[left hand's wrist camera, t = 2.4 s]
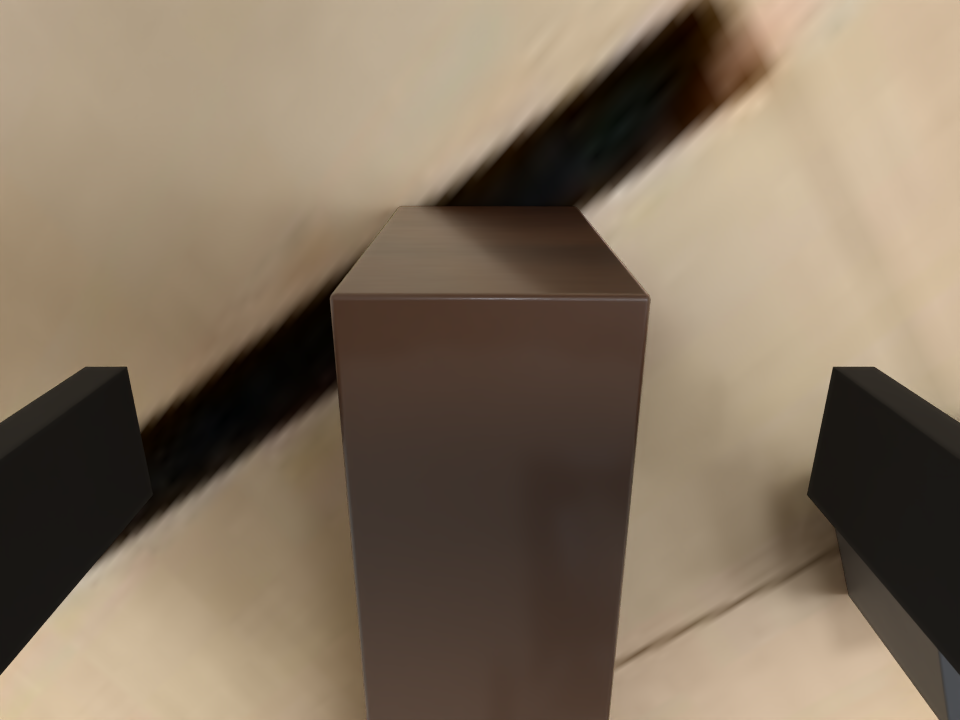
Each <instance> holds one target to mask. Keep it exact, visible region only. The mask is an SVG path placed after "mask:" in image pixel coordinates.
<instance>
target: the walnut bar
mask: <svg viewBox="0 0 960 720" xmlns="http://www.w3.org/2000/svg"><path fill="white" fill-rule="evenodd" d="M650 301H651V299H650V296H649V294H648V293H647V292H646V291H645V289H644V288H643V287H642V286H641V285H640V283H639V282H638V281H637V280H636V278H635V277H634V276H633V275H632V274H631V272H630V271H629V270H628V269H627V268H626V266H625V265H624V264H623V263H622V261H621V260H620V259H619V258H618V257H617V255H616V254H615V253H614V252H613V251H612V249H611V248H610V247H609V246H608V244H607V243H606V242H605V241H604V240H603V238H602V237H601V236H600V235H599V234H598V232H597V231H596V230H595V229H594V227H593V226H592V225H591V224H590V223H589V221H588V220H587V219H586V218H585V217H584V215H583V214H582V213H581V212H580V210H579V209H578V208H577V207H575V206H401V207H399V208H398V209H397V210H396V212H395V213H394V214H393V215H392V217H391V218H390V219H389V221H388V222H387V223H386V225H385V226H384V227H383V228H382V230H381V231H380V232H379V234H378V235H377V236H376V237H375V239H374V240H373V241H372V243H371V244H370V245H369V247H368V248H367V249H366V250H365V252H364V253H363V254H362V256H361V257H360V258H359V260H358V261H357V262H356V263H355V265H354V266H353V267H352V269H351V270H350V271H349V272H348V274H347V275H346V276H345V278H344V279H343V280H342V282H341V283H340V284H339V285H338V287H337V288H336V289H335V291H334V292H333V293H332V295H331V297H330V305H331V316H332V328H333V339H334V351H335V362H336V373H337V385H338V396H339V408H340V419H341V431H342V442H343V454H344V465H345V477H346V488H347V500H348V511H349V523H350V534H351V545H352V557H353V568H354V580H355V591H356V603H357V614H358V626H359V637H360V649H361V660H362V672H363V683H364V695H365V706H366V717H367V720H609V715H610V704H611V694H612V684H613V674H614V664H615V654H616V644H617V634H618V624H619V614H620V604H621V594H622V583H623V573H624V563H625V553H626V543H627V533H628V523H629V513H630V503H631V493H632V483H633V472H634V462H635V452H636V442H637V432H638V422H639V412H640V402H641V392H642V382H643V372H644V362H645V351H646V341H647V331H648V321H649V311H650Z"/></svg>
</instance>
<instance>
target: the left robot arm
mask: <svg viewBox="0 0 960 720" xmlns="http://www.w3.org/2000/svg"><path fill="white" fill-rule="evenodd" d="M152 495H153V493H152V488H151V483H150V478H149V473H148V468H147V463H146V458H145V453H144V449H143V444H142V439H141V434H140V429H139V424H138V419H137V414H136V409H135V404H134V399H133V394H132V390H131V385H130V380H129V375H128V370H127V367H85V368H83V369H82V370H80V371H79V372H77V373H76V374H74V375H73V376H71V377H69V378H68V379H66V380H65V381H63V382H62V383H60V384H59V385H57V386H56V387H54V388H53V389H51V390H50V391H48V392H47V393H45V394H44V395H42V396H40V397H39V398H37V399H36V400H34V401H33V402H31V403H30V404H28V405H27V406H25V407H24V408H22V409H21V410H19V411H18V412H16V413H15V414H13V415H12V416H10V417H8V418H7V419H5V420H4V421H2V422H1V423H0V675H1V674H2V673H3V671H4V670H5V669H6V668H7V667H8V665H9V664H10V663H11V662H12V661H13V660H14V658H15V657H16V656H17V655H18V654H19V652H20V651H21V650H22V649H23V648H24V647H25V645H26V644H27V643H28V642H29V641H30V639H31V638H32V637H33V636H34V635H35V634H36V632H37V631H38V630H39V629H40V628H41V626H42V625H43V624H44V623H45V622H46V621H47V619H48V618H49V617H50V616H51V615H52V613H53V612H54V611H55V610H56V609H57V608H58V606H59V605H60V604H61V603H62V602H63V600H64V599H65V598H66V597H67V596H68V595H69V593H70V592H71V591H72V590H73V589H74V587H75V586H76V585H77V584H78V583H79V582H80V580H81V579H82V578H83V577H84V576H85V574H86V573H87V572H88V571H89V570H90V569H91V567H92V566H93V565H94V564H95V563H96V561H97V560H98V559H99V558H100V557H101V556H102V554H103V553H104V552H105V551H106V550H107V548H108V547H109V546H110V545H111V544H112V543H113V541H114V540H115V539H116V538H117V537H118V535H119V534H120V533H121V532H122V531H123V530H124V528H125V527H126V526H127V525H128V524H129V522H130V521H131V520H132V519H133V518H134V517H135V515H136V514H137V513H138V512H139V511H140V509H141V508H142V507H143V506H144V505H145V504H146V502H147V501H148V500H149V499H150V498H151V496H152ZM807 495H808V496H809V498H810V499H811V500H812V501H813V502H814V504H815V505H816V506H817V507H818V508H819V509H820V511H821V512H822V513H823V514H824V515H825V517H826V518H827V519H828V520H829V521H830V522H831V524H832V525H833V526H834V527H835V528H836V530H837V531H838V532H839V533H840V534H841V535H842V537H843V538H844V539H845V540H846V541H847V543H848V544H849V545H850V546H851V547H852V548H853V550H854V551H855V552H856V553H857V554H858V556H859V557H860V558H861V559H862V560H863V561H864V563H865V564H866V565H867V566H868V567H869V569H870V570H871V571H872V572H873V573H874V574H875V576H876V577H877V578H878V579H879V580H880V582H881V583H882V584H883V585H884V586H885V587H886V589H887V590H888V591H889V592H890V593H891V595H892V596H893V597H894V598H895V599H896V600H897V602H898V603H899V604H900V605H901V606H902V608H903V609H904V610H905V611H906V612H907V613H908V615H909V616H910V617H911V618H912V619H913V621H914V622H915V623H916V624H917V625H918V626H919V628H920V629H921V630H922V631H923V632H924V634H925V635H926V636H927V637H928V638H929V639H930V641H931V642H932V643H933V644H934V645H935V647H936V648H937V649H938V650H939V651H940V652H941V654H942V655H943V656H944V657H945V658H946V660H947V661H948V662H949V663H950V664H951V665H952V667H953V668H954V669H955V670H956V671H957V673H958V674H959V675H960V423H959V422H958V421H956V420H955V419H953V418H952V417H950V416H948V415H947V414H945V413H944V412H942V411H941V410H939V409H938V408H936V407H935V406H933V405H932V404H930V403H929V402H927V401H926V400H924V399H923V398H921V397H920V396H918V395H916V394H915V393H913V392H912V391H910V390H909V389H907V388H906V387H904V386H903V385H901V384H900V383H898V382H897V381H895V380H894V379H892V378H891V377H889V376H887V375H886V374H884V373H883V372H881V371H880V370H878V369H877V368H875V367H833V370H832V375H831V380H830V385H829V390H828V394H827V399H826V404H825V409H824V414H823V419H822V424H821V429H820V434H819V439H818V444H817V449H816V453H815V458H814V463H813V468H812V473H811V478H810V483H809V488H808V493H807Z"/></svg>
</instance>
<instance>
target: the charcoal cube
mask: <svg viewBox="0 0 960 720" xmlns="http://www.w3.org/2000/svg"><path fill="white" fill-rule="evenodd" d="M835 529H836V528H835ZM836 534H837V539H838V544H839V549H840V554H841V559H842V564H843V569H844V574H845V579H846V584H847V589H848V594H849V597H850V598H851V599H852V601H853V602H854V603H855V605H856V606H857V608H858V609H859V610H860V612H861V613H862V614H863V616H864V617H865V619H866V620H867V621H868V623H869V624H870V625H871V627H872V628H873V630H874V631H875V632H876V634H877V635H878V636H879V638H880V639H881V641H882V642H883V643H884V645H885V646H886V647H887V649H888V650H889V652H890V653H891V654H892V656H893V657H894V658H895V660H896V661H897V663H898V664H899V665H900V667H901V668H902V669H903V671H904V672H905V674H906V675H907V676H908V678H909V679H910V680H911V682H912V683H913V685H914V686H915V687H916V689H917V690H918V691H919V693H920V694H921V696H922V697H923V698H924V700H925V701H926V702H927V704H928V705H929V707H930V708H931V709H932V711H933V712H934V713H935V715H936V716H937V718H938V719H939V720H960V675H959V674H958V673H957V671H956V670H955V669H954V668H953V667H952V665H951V664H950V663H949V662H948V661H947V660H946V658H945V657H944V656H943V655H942V654H941V652H940V651H939V650H938V649H937V648H936V647H935V645H934V644H933V643H932V642H931V641H930V639H929V638H928V637H927V636H926V635H925V634H924V632H923V631H922V630H921V629H920V628H919V626H918V625H917V624H916V623H915V622H914V621H913V619H912V618H911V617H910V616H909V615H908V613H907V612H906V611H905V610H904V609H903V608H902V606H901V605H900V604H899V603H898V602H897V600H896V599H895V598H894V597H893V596H892V595H891V593H890V592H889V591H888V590H887V589H886V587H885V586H884V585H883V584H882V583H881V582H880V580H879V579H878V578H877V577H876V576H875V574H874V573H873V572H872V571H871V570H870V569H869V567H868V566H867V565H866V564H865V563H864V561H863V560H862V559H861V558H860V557H859V556H858V554H857V553H856V552H855V551H854V550H853V548H852V547H851V546H850V545H849V544H848V543H847V541H846V540H845V539H844V538H843V537H842V535H841V534H840V533H839V532H838V531H837V530H836Z"/></svg>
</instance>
